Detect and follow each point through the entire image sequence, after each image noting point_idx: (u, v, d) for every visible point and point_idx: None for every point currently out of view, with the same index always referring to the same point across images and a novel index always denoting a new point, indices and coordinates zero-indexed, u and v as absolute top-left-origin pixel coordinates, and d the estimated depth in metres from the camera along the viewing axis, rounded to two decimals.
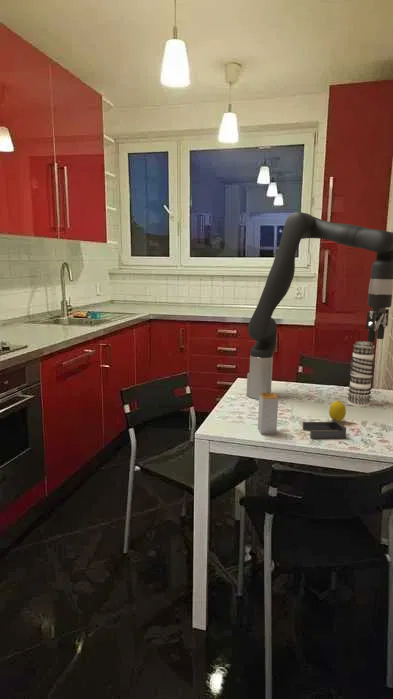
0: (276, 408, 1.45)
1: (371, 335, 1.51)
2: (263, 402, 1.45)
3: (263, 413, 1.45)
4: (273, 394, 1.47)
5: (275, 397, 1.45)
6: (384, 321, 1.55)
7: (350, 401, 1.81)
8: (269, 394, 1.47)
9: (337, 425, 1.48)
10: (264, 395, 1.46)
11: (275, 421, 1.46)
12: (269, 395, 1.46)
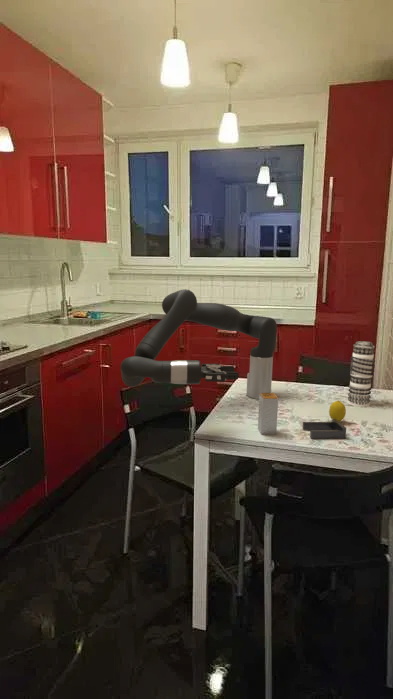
0: (276, 408, 1.45)
1: None
2: (263, 402, 1.45)
3: (263, 413, 1.45)
4: (273, 394, 1.47)
5: (275, 397, 1.45)
6: None
7: (350, 401, 1.81)
8: (269, 394, 1.47)
9: (337, 425, 1.48)
10: (264, 395, 1.46)
11: (275, 421, 1.46)
12: (269, 395, 1.46)
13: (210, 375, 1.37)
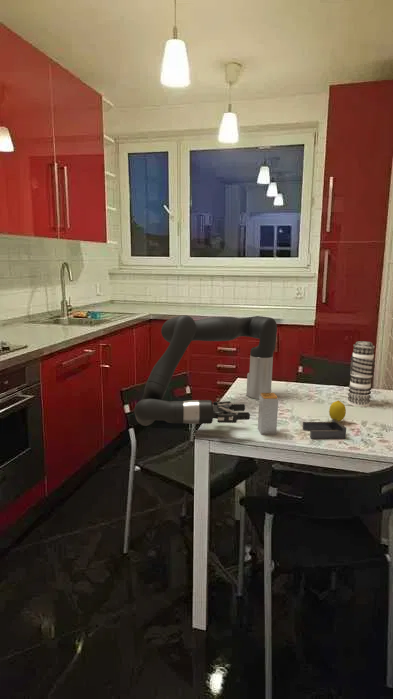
0: (276, 408, 1.45)
1: None
2: (263, 402, 1.45)
3: (263, 413, 1.45)
4: (273, 394, 1.47)
5: (275, 397, 1.45)
6: None
7: (350, 401, 1.81)
8: (269, 394, 1.47)
9: (337, 425, 1.48)
10: (264, 395, 1.46)
11: (275, 421, 1.46)
12: (269, 395, 1.46)
13: (222, 416, 1.40)
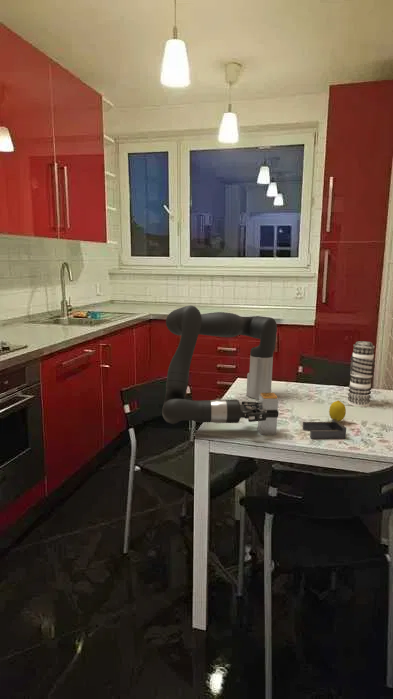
0: (276, 408, 1.45)
1: None
2: (263, 402, 1.45)
3: None
4: (273, 394, 1.47)
5: (275, 397, 1.45)
6: None
7: (350, 401, 1.81)
8: (269, 394, 1.47)
9: (337, 425, 1.48)
10: (264, 395, 1.46)
11: (275, 421, 1.46)
12: (269, 395, 1.46)
13: (253, 415, 1.41)
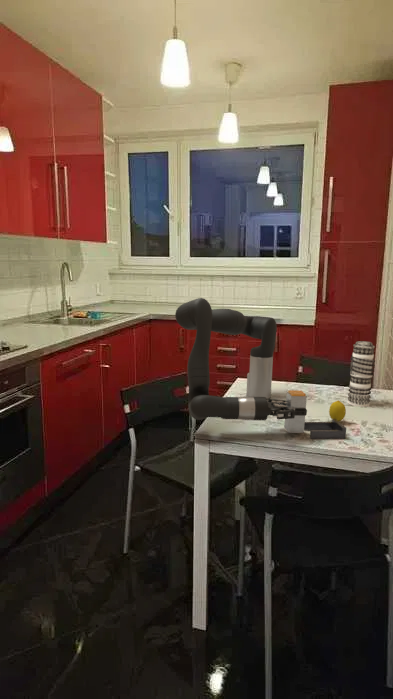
0: (304, 406, 1.43)
1: None
2: (291, 399, 1.43)
3: None
4: (301, 392, 1.45)
5: (303, 395, 1.43)
6: None
7: (350, 401, 1.81)
8: (297, 392, 1.45)
9: (337, 425, 1.48)
10: (292, 392, 1.44)
11: (303, 419, 1.44)
12: (297, 393, 1.44)
13: (282, 413, 1.39)
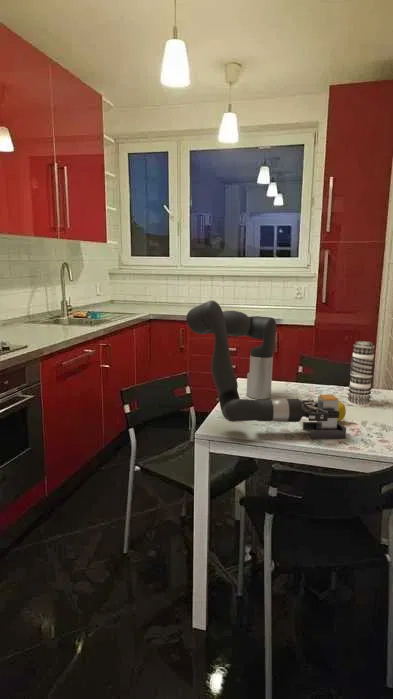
0: (336, 410, 1.45)
1: None
2: (324, 404, 1.44)
3: (323, 415, 1.45)
4: (332, 396, 1.47)
5: (336, 399, 1.44)
6: None
7: (350, 401, 1.81)
8: (329, 396, 1.47)
9: (337, 425, 1.48)
10: (324, 397, 1.45)
11: (335, 423, 1.45)
12: (329, 397, 1.45)
13: (313, 415, 1.40)
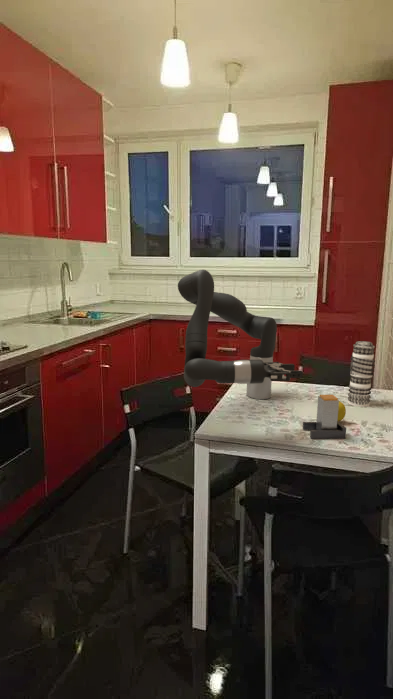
0: (336, 410, 1.45)
1: None
2: (324, 404, 1.44)
3: (323, 415, 1.45)
4: (333, 396, 1.47)
5: (336, 399, 1.44)
6: None
7: (350, 401, 1.81)
8: (329, 396, 1.46)
9: (337, 425, 1.48)
10: (324, 397, 1.45)
11: (335, 423, 1.45)
12: (329, 397, 1.45)
13: (275, 374, 1.36)
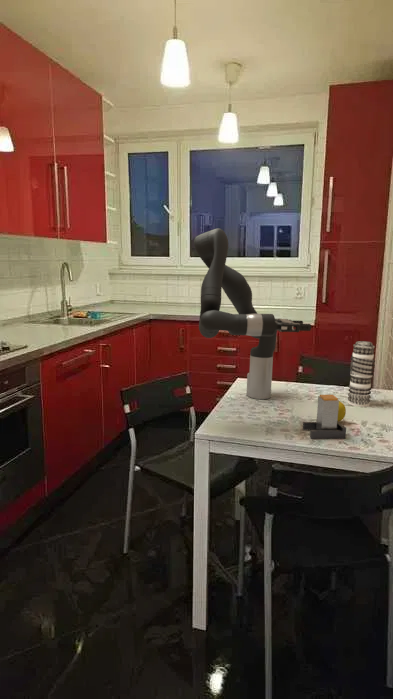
0: (336, 410, 1.45)
1: None
2: (324, 404, 1.44)
3: (323, 415, 1.45)
4: (333, 396, 1.47)
5: (336, 399, 1.44)
6: None
7: (350, 401, 1.81)
8: (329, 396, 1.46)
9: (337, 425, 1.48)
10: (324, 397, 1.45)
11: (335, 423, 1.45)
12: (329, 397, 1.45)
13: (285, 326, 1.45)
